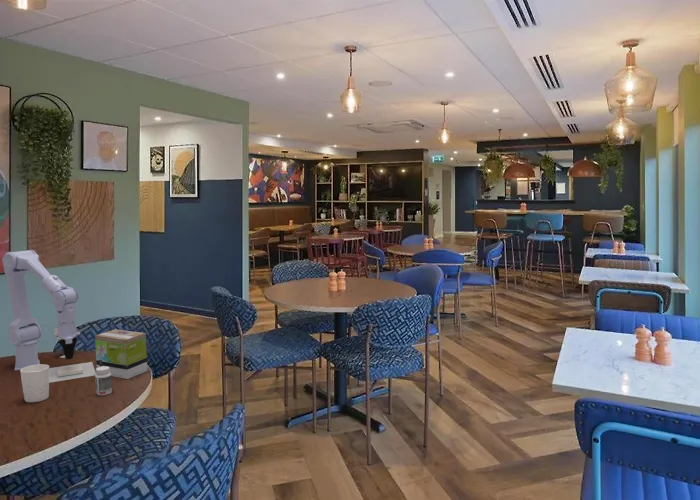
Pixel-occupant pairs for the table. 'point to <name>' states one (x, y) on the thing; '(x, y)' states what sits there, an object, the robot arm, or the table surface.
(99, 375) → the pill bottle
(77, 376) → the mat
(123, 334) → the tea box
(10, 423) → the table surface
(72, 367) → the tile
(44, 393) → the white cup
